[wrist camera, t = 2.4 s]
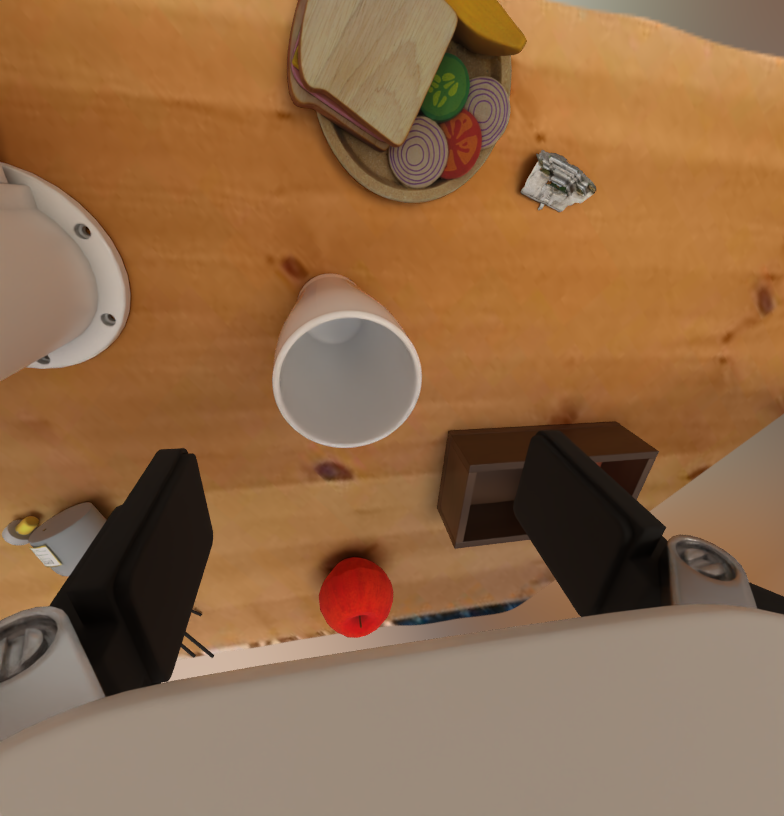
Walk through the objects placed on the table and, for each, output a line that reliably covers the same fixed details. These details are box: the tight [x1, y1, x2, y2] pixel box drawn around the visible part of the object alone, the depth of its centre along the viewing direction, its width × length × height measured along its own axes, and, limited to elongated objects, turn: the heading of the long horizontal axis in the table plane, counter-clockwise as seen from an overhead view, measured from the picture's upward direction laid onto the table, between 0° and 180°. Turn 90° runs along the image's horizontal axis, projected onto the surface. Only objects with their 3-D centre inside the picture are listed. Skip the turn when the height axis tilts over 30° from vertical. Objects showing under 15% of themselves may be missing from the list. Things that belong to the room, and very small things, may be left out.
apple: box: [319, 557, 393, 638], centre depth 41 cm, size 8×8×7 cm
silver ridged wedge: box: [521, 150, 596, 212], centre depth 28 cm, size 6×2×3 cm
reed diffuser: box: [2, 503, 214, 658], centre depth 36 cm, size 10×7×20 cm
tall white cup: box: [272, 274, 422, 448], centre depth 23 cm, size 7×7×15 cm
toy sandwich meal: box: [287, 0, 527, 203], centre depth 22 cm, size 12×14×5 cm
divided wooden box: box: [437, 422, 659, 549], centre depth 39 cm, size 10×19×6 cm, turn 87°
